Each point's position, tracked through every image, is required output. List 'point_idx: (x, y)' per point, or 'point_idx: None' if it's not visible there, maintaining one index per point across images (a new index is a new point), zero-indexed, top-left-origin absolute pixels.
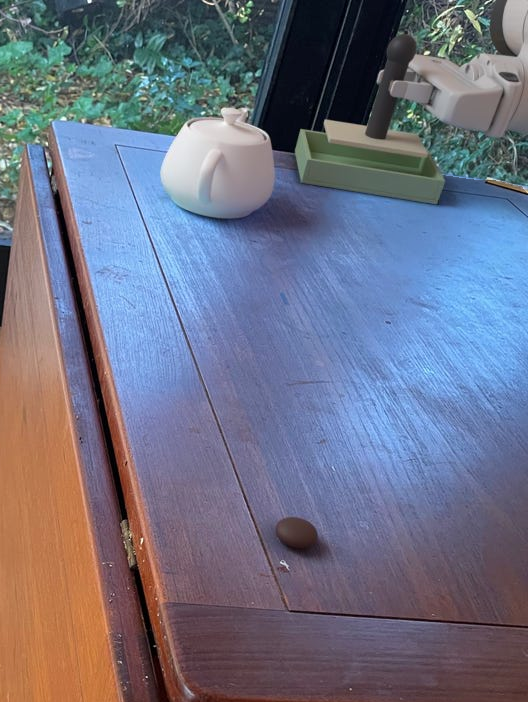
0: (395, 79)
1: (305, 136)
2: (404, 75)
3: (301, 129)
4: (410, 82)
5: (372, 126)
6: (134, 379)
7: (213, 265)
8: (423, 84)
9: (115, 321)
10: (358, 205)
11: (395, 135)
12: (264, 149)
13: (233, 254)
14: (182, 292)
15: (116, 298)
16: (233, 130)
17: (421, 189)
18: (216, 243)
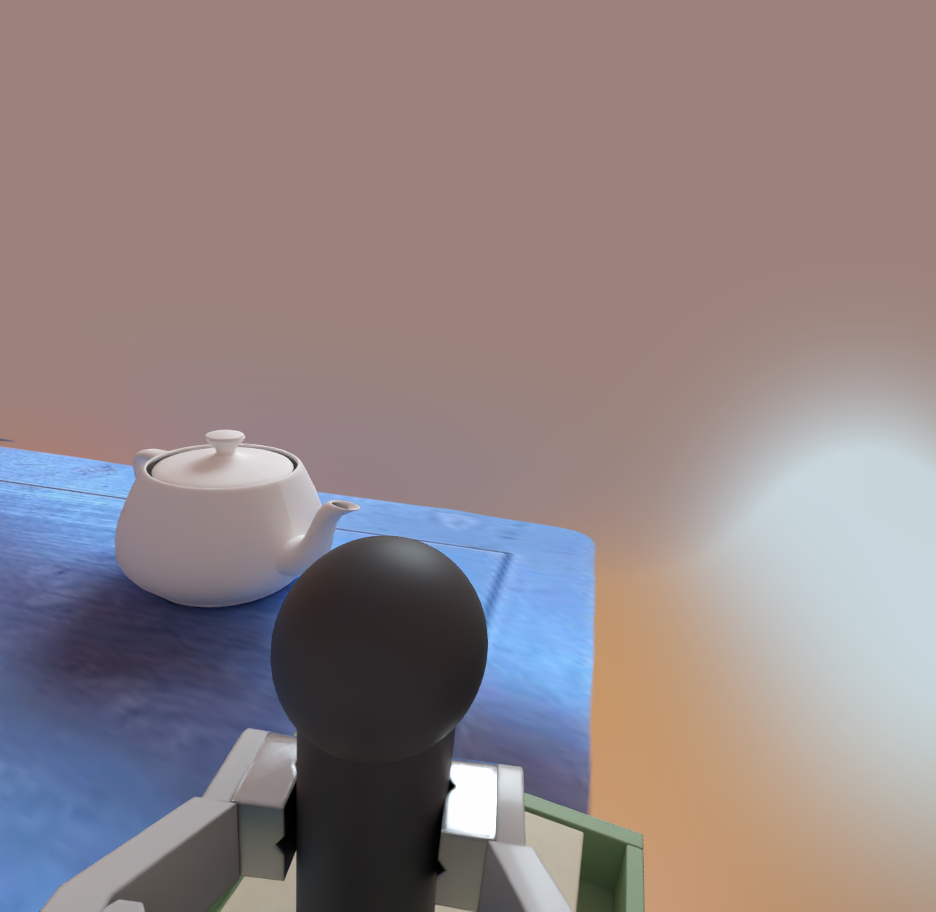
0: (288, 741)
1: (547, 811)
2: (305, 800)
3: (635, 833)
4: (190, 811)
5: None
6: None
7: (37, 520)
8: (72, 889)
9: (7, 454)
10: (58, 881)
11: None
12: (137, 482)
13: (45, 542)
14: (5, 488)
15: (46, 462)
16: (202, 455)
17: None
18: (94, 539)
